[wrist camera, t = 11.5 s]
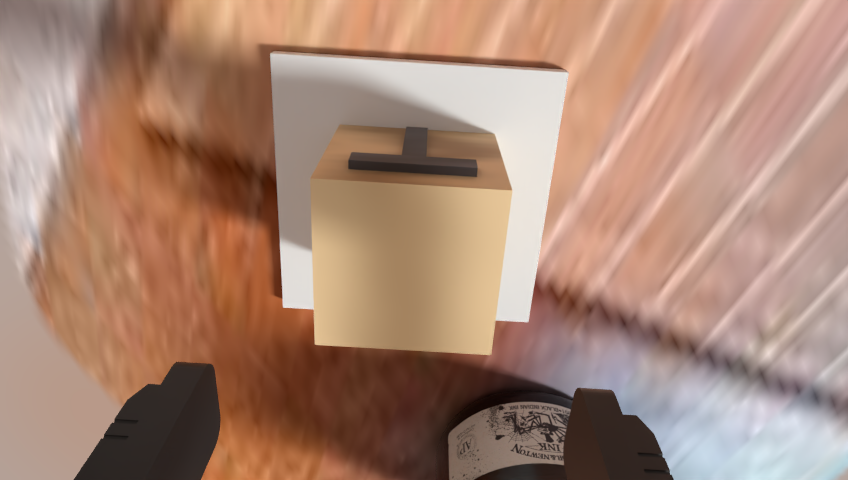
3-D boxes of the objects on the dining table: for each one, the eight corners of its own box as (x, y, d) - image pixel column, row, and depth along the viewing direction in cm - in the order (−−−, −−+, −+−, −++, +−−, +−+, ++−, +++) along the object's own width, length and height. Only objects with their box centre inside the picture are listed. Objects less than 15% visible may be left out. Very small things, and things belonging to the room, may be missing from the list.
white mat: (273, 50, 23) (269, 53, 22) (565, 69, 23) (568, 72, 22) (286, 300, 27) (283, 307, 27) (526, 314, 27) (528, 322, 27)
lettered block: (495, 126, 23) (513, 180, 18) (478, 275, 26) (489, 361, 21) (339, 116, 23) (309, 168, 18) (340, 267, 26) (315, 351, 20)
